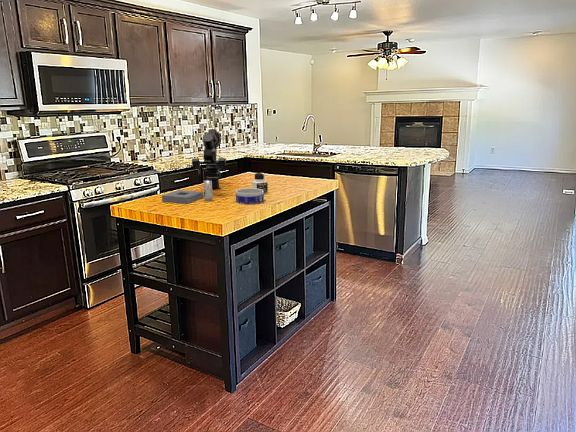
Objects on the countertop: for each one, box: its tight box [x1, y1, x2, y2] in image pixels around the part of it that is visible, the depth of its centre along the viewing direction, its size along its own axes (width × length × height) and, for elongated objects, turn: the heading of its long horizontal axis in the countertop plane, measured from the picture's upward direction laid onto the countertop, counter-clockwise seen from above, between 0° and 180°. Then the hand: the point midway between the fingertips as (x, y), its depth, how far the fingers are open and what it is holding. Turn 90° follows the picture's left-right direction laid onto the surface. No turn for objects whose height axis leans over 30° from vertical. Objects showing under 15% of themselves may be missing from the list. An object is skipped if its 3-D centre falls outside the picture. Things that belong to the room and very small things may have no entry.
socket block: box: [161, 189, 204, 205], centre depth 246 cm, size 16×16×4 cm
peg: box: [203, 179, 214, 202], centre depth 243 cm, size 4×4×11 cm
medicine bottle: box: [251, 172, 269, 195], centre depth 262 cm, size 7×7×12 cm
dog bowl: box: [235, 187, 265, 205], centre depth 242 cm, size 15×15×6 cm
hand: (208, 174), depth 248 cm, fingers open, 9 cm apart
